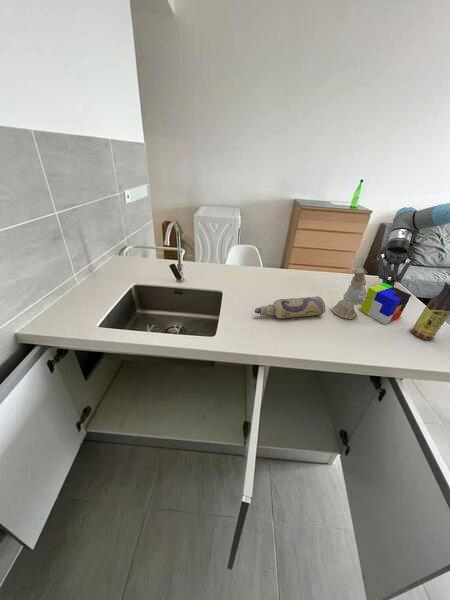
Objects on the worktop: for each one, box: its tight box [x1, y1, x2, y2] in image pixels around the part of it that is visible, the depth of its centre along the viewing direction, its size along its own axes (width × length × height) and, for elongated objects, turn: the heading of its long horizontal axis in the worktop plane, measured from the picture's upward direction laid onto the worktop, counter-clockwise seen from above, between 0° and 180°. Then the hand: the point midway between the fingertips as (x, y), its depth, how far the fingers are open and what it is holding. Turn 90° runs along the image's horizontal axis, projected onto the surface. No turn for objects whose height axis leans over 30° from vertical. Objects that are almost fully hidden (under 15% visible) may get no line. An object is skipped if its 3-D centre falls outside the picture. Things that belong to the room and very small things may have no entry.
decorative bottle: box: [254, 295, 326, 319], centre depth 88 cm, size 26×8×7 cm, turn 101°
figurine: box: [331, 267, 368, 320], centre depth 87 cm, size 9×8×20 cm
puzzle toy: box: [359, 283, 412, 325], centre depth 91 cm, size 10×10×10 cm
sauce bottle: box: [411, 281, 450, 341], centre depth 79 cm, size 6×6×20 cm
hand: (385, 295), depth 96 cm, fingers closed
